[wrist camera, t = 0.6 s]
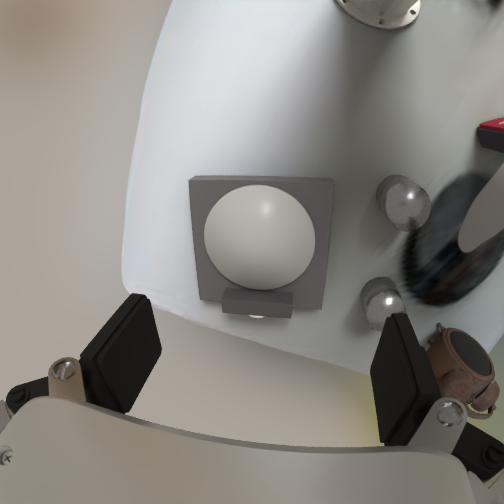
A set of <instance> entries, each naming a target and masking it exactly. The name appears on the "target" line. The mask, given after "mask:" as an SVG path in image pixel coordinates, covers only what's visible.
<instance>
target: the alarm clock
mask: <svg viewBox="0 0 504 504" xmlns="http://www.w3.org/2000/svg"><path fill="white" fill-rule="evenodd" d="M437 325H438V326H439V327H440V328H441V330H442V333H441V334H440V335H439V336H438V337H437V338H436V339H435V340H434V342H433V343H431V342H430V340H428V341H427V343H429V344H430V345H431V346H430V347H429V349H428V350H427V352H426V354H427V356H428V359H429V361H430V364H431V367H432V370H433V372H434V375H435V378H436V381H437V384H438V387H439V389H440V392H441V395H442V398H444V397H452V398H454V399H457V400H458V401H460V402H461V403H462V404H463V405H464V406H465V408H466V410H467V415H468V416H469V417H471V418H475V419H487V418H489V417H490V416H491V415H492V414H493V410H495V409H496V406H495V404H494V403H495V402H496V400H497V399H498V396H499V392H500V390H499V386H498V384H497V382H496V381H494V383H493V384H491V382H492V381H493V380H494V377H495V372H494V367H493V364H492V361H491V359H490V357H489V356H488V354H487V352H486V351H485V350H484V348H483V347H482V346H481V345H480V344H479V343H478V342H477V341H476V340H475V339H474V338H472V337H471V336H470V335H468V334H467V333H465V332H463V331H461V330H459V329H455V328H447V329H446V328H444V327H443V326H442V325H441V323H438V324H437ZM490 384H491V385H490ZM489 385H490V386H489ZM488 386H489V387H488ZM470 403H472V404H471V406H472V408H474V409H475V410H476V411H479V412H481V411H485V410H487V409H488V414H479V413H476V412H474V411H471V410H470V409H469V407H468V406H467V405H468V404H470Z"/></svg>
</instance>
